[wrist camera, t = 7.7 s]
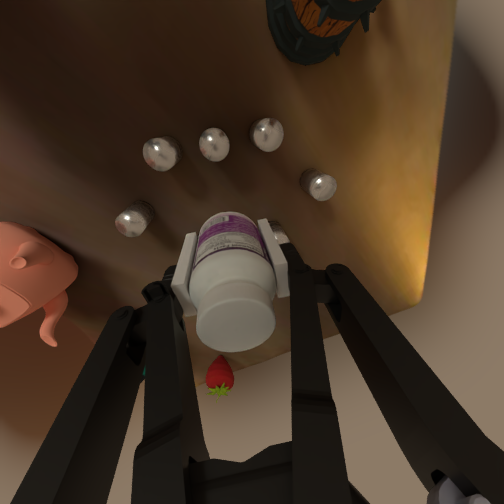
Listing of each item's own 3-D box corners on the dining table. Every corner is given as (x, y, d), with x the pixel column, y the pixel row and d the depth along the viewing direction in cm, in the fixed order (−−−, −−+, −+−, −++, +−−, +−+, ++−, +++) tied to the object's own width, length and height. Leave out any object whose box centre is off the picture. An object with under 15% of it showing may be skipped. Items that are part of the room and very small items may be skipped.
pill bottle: (252, 265, 20) (273, 361, 12) (196, 259, 19) (179, 361, 11) (265, 214, 17) (305, 293, 9) (201, 203, 16) (182, 284, 8)
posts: (155, 261, 34) (146, 280, 30) (98, 148, 25) (73, 152, 21) (319, 229, 35) (332, 243, 31) (322, 107, 26) (343, 104, 21)
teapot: (-48, 200, 26) (-197, 242, 17) (82, 219, 29) (17, 262, 20) (-4, 287, 33) (-91, 350, 24) (96, 294, 36) (54, 352, 27)
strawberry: (217, 367, 53) (216, 412, 44) (201, 353, 49) (197, 400, 40) (237, 359, 52) (240, 404, 44) (223, 344, 48) (223, 390, 40)
